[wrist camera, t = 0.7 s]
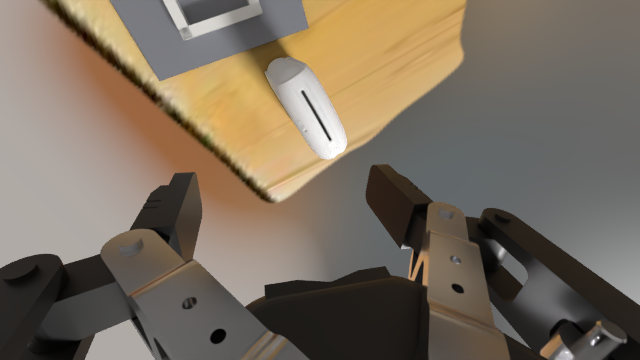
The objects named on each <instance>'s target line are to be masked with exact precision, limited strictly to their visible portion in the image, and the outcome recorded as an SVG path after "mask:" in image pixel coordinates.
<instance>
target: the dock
mask: <svg viewBox="0 0 640 360" xmlns="http://www.w3.org/2000/svg"><path fill="white" fill-rule="evenodd" d="M110 1H111V3H112V5H113V6H114V8H115V9H116V11H117V13H118V14H119V16H120V18H121V19H122V21H123V22H124V24H125V26H126V27H127V29H128V31H129V32H130V34H131V35H132V37H133V39H134V40H135V42H136V44H137V45H138V47H139V48H140V50H141V52H142V53H143V55H144V57H145V58H146V60H147V61H148V63H149V65H150V66H151V68H152V70H153V71H154V73H155V74H156V76H157V78H158V79H159V81H162V80H164V79H167V78H170V77H173V76H176V75H178V74H181V73H184V72H187V71H190V70H192V69H195V68H198V67H201V66H204V65H206V64H209V63H212V62H215V61H218V60H220V59H223V58H226V57H229V56H232V55H235V54H237V53H240V52H243V51H246V50H249V49H251V48H254V47H257V46H260V45H263V44H265V43H268V42H271V41H274V40H277V39H279V38H282V37H285V36H288V35H291V34H293V33H296V32H299V31H302V30H305V29H307V28H309V27H308V23H307V20H306V16H305V12H304V8H303V5H302V1H301V0H110Z"/></svg>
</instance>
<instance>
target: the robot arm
mask: <svg viewBox="0 0 640 360" xmlns="http://www.w3.org/2000/svg"><path fill="white" fill-rule="evenodd" d="M366 201H367V203H368V205H369V206H370V208H371V209H372V211H373V212H374V213H375V215H376V216H377V217H378V219H379V220H380V221H381V223H382V224H383V226H384V227H385V228H386V230H387V231H388V232H389V234H390V235H391V237H392V238H393V240H394V241H395V242H396V244H397V245H398V246H399V248H400V249H406V248H413V252H412V255H411V260H410V268H409V275H408V279H406V278H403V277H398V276H391V275H390V273H389V272H388V270H387V268H386V267H385V266H384V267H377V268H371V269H364V270H358V271H356V272H353V273H351V274H349V275H347V276H344V277H342V278H340V279H337V280H335V281H333V282H321V281H304V280H295V281H288V282H282V283H276V284H269V285H265V296H263V297H261V298H259V299H257V300H255V301H253V302H251V303H250V304H248V305H247V306H246V307H244V306H243V305H242V304H241V303H240V302H239V301H238V300H237V299H236V298H235V297H234V296H233V295H232V294H231V293H230V292H229V291H227V290H226V289H225V288H224V287H223V286H222V285H221V284H220V283H219V282H218V281H217V280H216V279H215V278H214V277H213V276H212V275H211V274H210V273H209V272H208V271H207V270H206V269H205V268H203V267H202V266H201V265H200V264H199V263H198V262H197V261H196V260H194V259H192V258H193V254H194V250H195V245H196V241H197V236H198V232H199V227H200V223H201V219H202V203H201V198H200V192H199V186H198V181H197V175H196V173H195V172H191V173H175V174H174V176H173V178H172V180H171V182H170V184H169V185H166V186H164V185H163V186H160V187H158V188H157V189H156V190H154V191H153V192H152V193H151V194H150V196H149V197H148V199H147V202H146V203H145V204H144V206H143V209H142V210H141V211H140V213H139V215H138V216H137V218H136V220H135V222H134V223H133V225H132V227H131V228H130V230H129V231H127V232H124V233H121V234H119V235H117V236H115V237H113V238H112V239H111V240H109V241H108V242H107V243H106V244H105V245H104V246H103V247H102V249H101V252H100V254H98V255H95V256H93V257H89V258H86V259H82V260H79V261H75V262H72V263H68V264H65V265H63V263H62V261H61V259H60V258H59V257H58V256H56V255H53V254H38V255H33V256H29V257H25V258H22V259H19V260H17V261H14V262H12V263H10V264H8V265H6V266H4V267H2V268H0V360H85V357H86V355H87V353H88V350H89V348H90V345H91V343H92V341H93V338H94V336H95V334H96V333H98V332H100V331H102V330H105V329H107V328H109V327H112V326H114V325H117V324H119V323H121V322H124V321H126V320H129V319H130V320H131V322H132V324H133V325H134V327H135V328H136V330H137V332H138V333H139V335H140V336H141V338H142V340H143V341H144V342H145V344H146V346H147V347H148V349H149V350H150V352H151V354H152V355H153V357H154V358H155V360H640V305H638V304H637V303H635V302H634V301H633V300H631V299H630V298H629V297H627V296H625V295H624V294H623V293H622V292H620V291H619V290H618V289H616V288H615V287H613V286H612V285H610V284H609V283H608V282H606V281H605V280H604V279H602V278H601V277H599V276H598V275H597V274H595V273H594V272H592V271H591V270H589V269H588V268H587V267H585V266H584V265H583V264H581V263H580V262H578V261H577V260H576V259H574V258H573V257H572V256H570V255H569V254H567V253H566V252H565V251H563V250H562V249H560V248H559V247H558V246H556V245H555V244H553V243H552V242H551V241H549V240H548V239H547V238H545V237H544V236H542V235H541V234H540V233H538V232H537V231H535V230H534V229H533V228H531V227H530V226H528V225H527V224H525V223H524V222H523V221H521V220H520V219H519V218H517V217H516V216H514V215H513V214H511V213H508V212H506V211H503V210H500V209H496V208H487V209H484V211H483V212H482V214H481V217H480V218H474V217H465V215H464V213H463V212H462V211H461V210H460V209H458V208H457V207H455V206H453V205H450V204H447V203H443V202H433V201H432V200H431V199H430V198H429V197H428V196H427V195H425V194H424V193H423V192H422V191H421V190H420V189H418V187H417V186H415V185H413V183H412V182H411V181H410V180H409V179H408V178H406V177H404V176H402V175H400V174H398V173H397V172H396V171H395V170H394V169H393V168H391V167H390V166H389V165H388V164H381V165H372V167H371V169H370V173H369V178H368V183H367V189H366ZM508 252H509V253H510V254H511V255H512V256H513V257H514V258H515V259H516V260H518V261H519V262H520V263H521V264H522V265H523V266H524V267H525V268H526V270H527V272H528V280H527V282H526V283H525V285H524V286H523V285H521V283H520V282H518V281H517V280H516V279H515V278H514V277H513V276H512V275H511V274H510V273H509V272H508V271H507V270H506V269H505V268H504V267H503V266H502V265H501V264H502V262H503V260H504V259H505V257H506V255H507V254H508ZM490 301H491V302H492V303H493V305H494V306H495V307H496V308H497V309H498V311H499V312H500V313H501V314H502V315H503V317H504V318H505V319H506V320H507V321H508V322H509V323H510V325H511V326H512V327H513V328H514V329H515V331H516V332H517V333H518V334H519V335H520V336H521V338H522V339H523V340H524V341H525V342H526V343H527V344H528V346H529V347H530V348H531V349H532V350H531V349H530V348H528V347H526V346H525V345H523V344H521V343H520V342H518V341H516V340H514V339H513V338H511V337H509V336H507V335H506V334H504V333H503V332H501V330H499V329H498V328H497V327H496V326H495V323H494V318H493V313H492V308H491V304H490Z"/></svg>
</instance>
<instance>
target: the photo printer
mask: <svg viewBox="0 0 640 360" xmlns="http://www.w3.org/2000/svg"><path fill="white" fill-rule="evenodd" d="M265 75H266V77H267V80H268V82H269V84H270V86H271V87H272V89H273V91H274V92H275V94H276V96H277V97H278V99H279V101H280V102H281V104H282V105H283V107H284V108H285V110H286V112H287V113H288V115H289V116H290V118H291V119H292V121H293V122H294V124H295V125H296V127H297V128H298V130H299V131H300V133H301V134H302V136H303V137H304V139H305V140H306V142H307V143H308V145H309V146H310V147H311V149H312V150H313V151H314V152H315V153H316V154H317V155H318V156H319V157H320V158H322V159H332V158H334V157H335V156H336V155H338V154H339V153H342V152H343V151H344V150H345V148H346V146H347V139H346V134H345V131H344V128H343V126H342V124H341V121H340V119H339V117H338V115H337V113H336V111H335V109H334V107H333V105H332V103H331V101H330V99H329V97H328V96H327V94H326V92H325V90H324V88H323V87H322V85H321V83H320V82H319V80H318V78H317V77H316V75H315V74H314V73H313V71H312V70H311V69H310V68H309V66H308V65H307V64H305V63H303V62H301V61H299V60H296V59H294V58H292V57H289V56H288V57H286V58H277V59H274V60H273V61H272V62H271V63H270V64H269V66H268V69H267V71H265Z"/></svg>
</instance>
